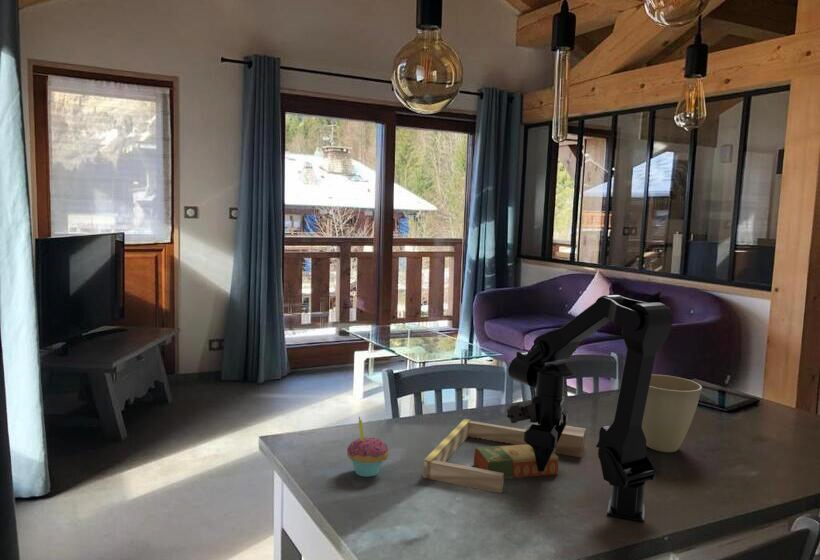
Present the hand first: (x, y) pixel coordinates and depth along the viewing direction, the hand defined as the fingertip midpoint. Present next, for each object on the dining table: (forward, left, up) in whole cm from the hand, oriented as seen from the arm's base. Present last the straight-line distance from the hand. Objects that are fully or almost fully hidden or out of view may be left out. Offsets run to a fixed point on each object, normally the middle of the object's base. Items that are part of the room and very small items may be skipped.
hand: (544, 463), depth 141 cm
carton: (-3, +6, -2) cm, 7 cm away
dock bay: (-1, +13, -1) cm, 14 cm away
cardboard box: (+14, -4, -2) cm, 14 cm away
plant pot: (+27, -24, -2) cm, 36 cm away
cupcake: (-18, +33, -2) cm, 38 cm away
